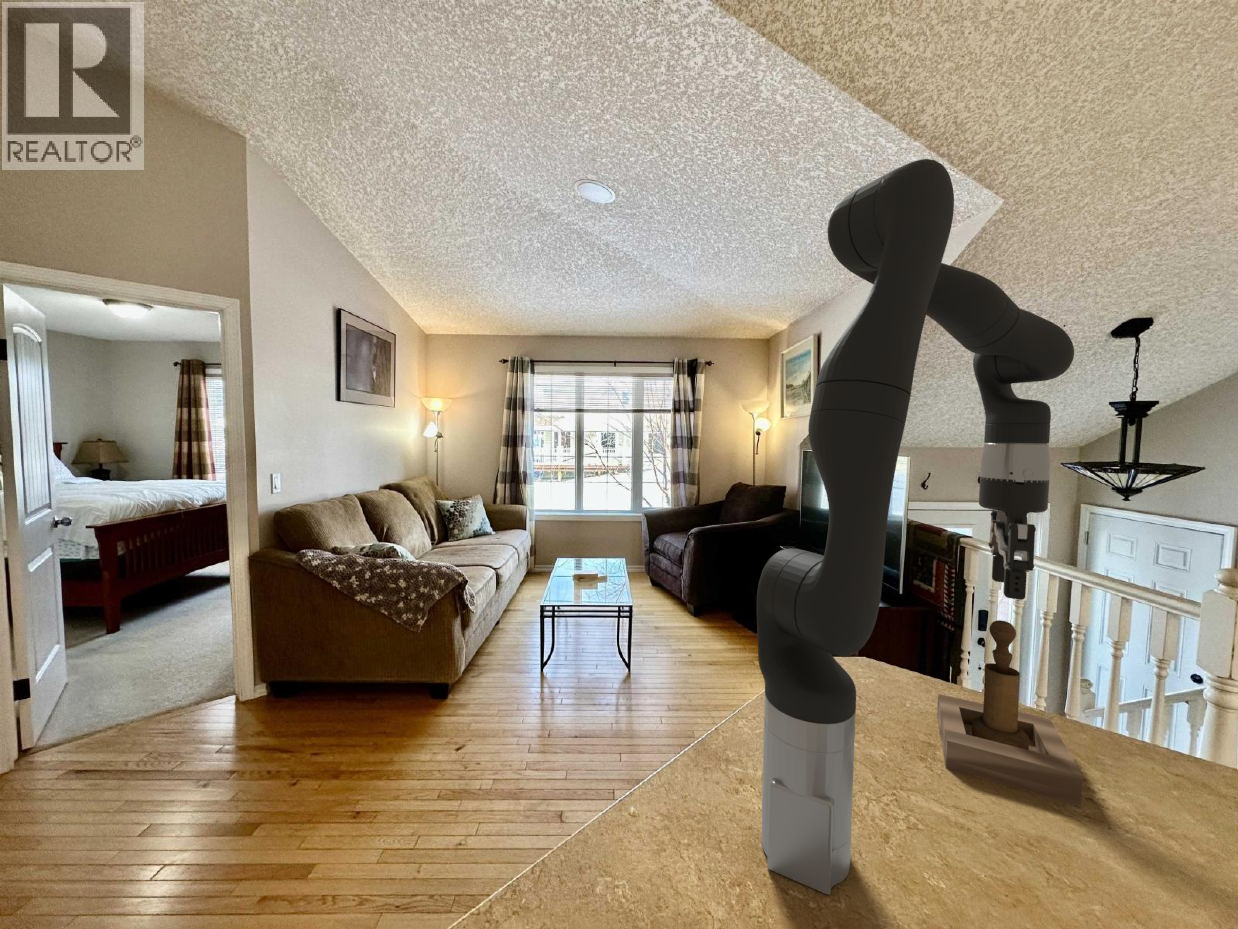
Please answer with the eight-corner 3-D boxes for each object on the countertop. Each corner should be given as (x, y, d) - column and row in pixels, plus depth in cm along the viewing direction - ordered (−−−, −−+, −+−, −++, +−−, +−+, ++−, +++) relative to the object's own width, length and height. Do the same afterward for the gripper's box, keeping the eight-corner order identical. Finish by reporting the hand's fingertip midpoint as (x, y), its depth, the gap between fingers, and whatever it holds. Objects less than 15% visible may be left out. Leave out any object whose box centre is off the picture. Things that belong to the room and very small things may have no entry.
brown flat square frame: (1080, 810, 60) (1082, 775, 60) (945, 771, 67) (947, 740, 67) (1047, 747, 72) (1049, 718, 72) (936, 720, 79) (938, 693, 79)
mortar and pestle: (1040, 761, 66) (1044, 631, 65) (989, 757, 67) (992, 628, 66) (1008, 733, 72) (1012, 615, 72) (961, 730, 73) (964, 612, 73)
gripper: (973, 471, 75) (967, 573, 76) (989, 477, 63) (982, 599, 64) (1034, 474, 72) (1028, 581, 73) (1065, 481, 59) (1057, 609, 60)
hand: (1007, 589), depth 68 cm, fingers open, 8 cm apart
